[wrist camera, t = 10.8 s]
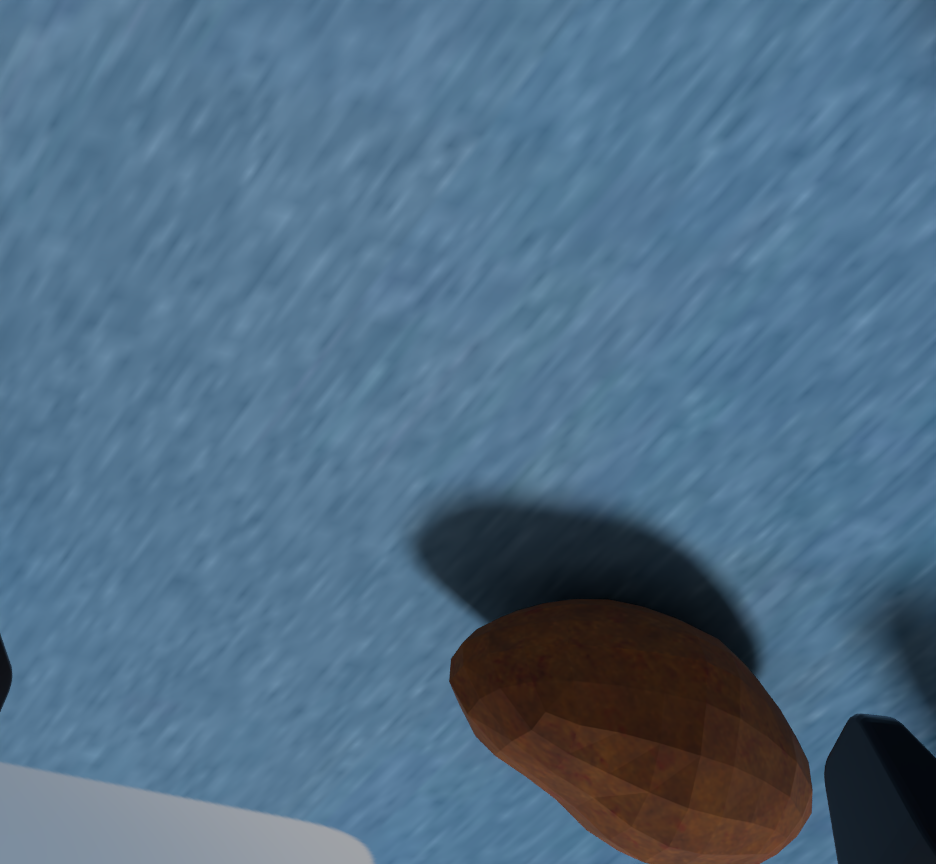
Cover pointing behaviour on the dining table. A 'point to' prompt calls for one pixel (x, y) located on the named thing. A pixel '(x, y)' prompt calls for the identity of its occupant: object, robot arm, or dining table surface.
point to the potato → (637, 730)
